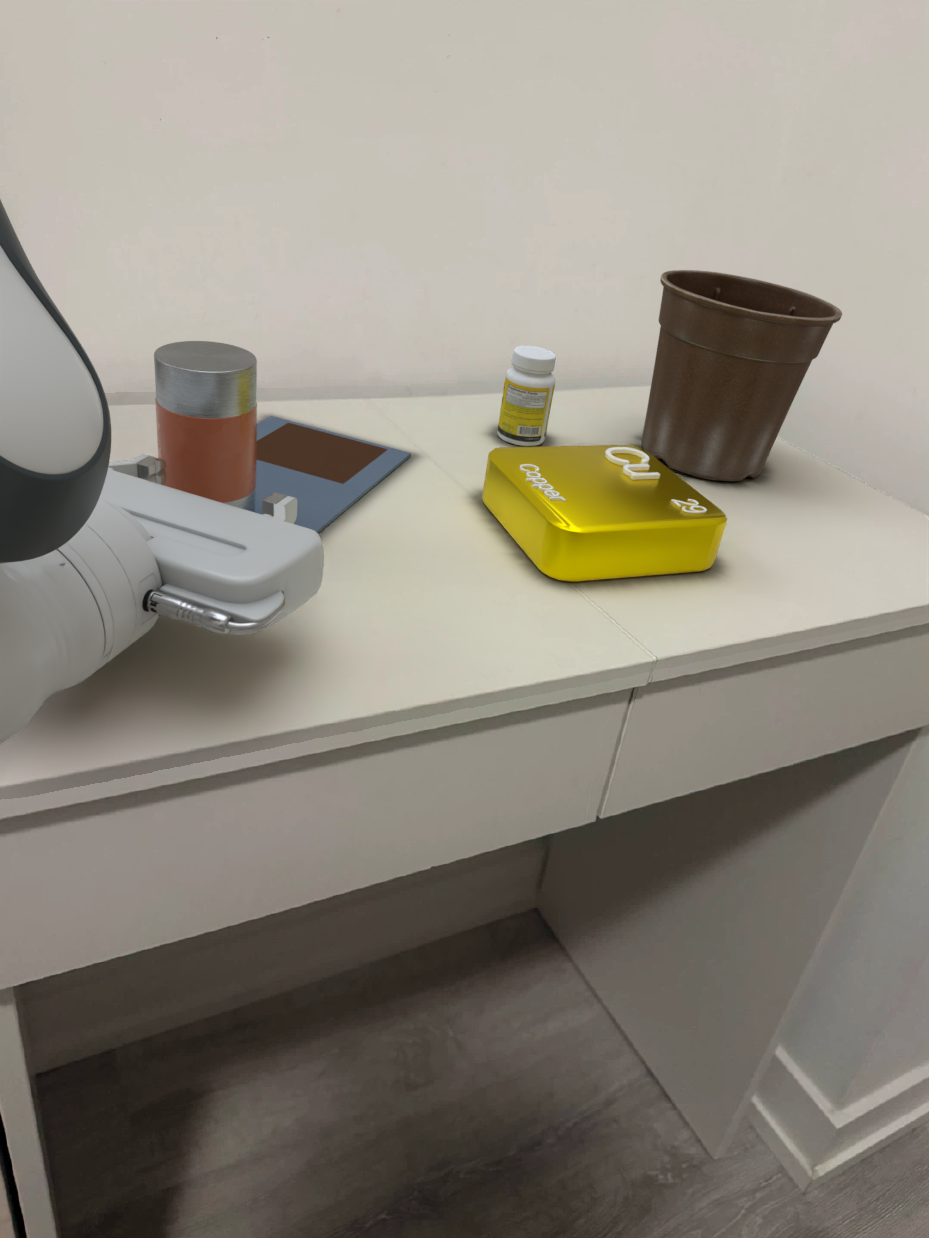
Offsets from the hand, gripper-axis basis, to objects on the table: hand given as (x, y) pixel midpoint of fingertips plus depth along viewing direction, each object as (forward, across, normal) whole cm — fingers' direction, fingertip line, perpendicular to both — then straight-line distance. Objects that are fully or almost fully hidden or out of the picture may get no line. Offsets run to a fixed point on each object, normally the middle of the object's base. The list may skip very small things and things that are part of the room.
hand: (220, 486), depth 58 cm
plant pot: (+44, -27, +6) cm, 52 cm away
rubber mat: (+13, +4, +6) cm, 14 cm away
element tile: (+21, -21, +6) cm, 30 cm away
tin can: (+5, +4, +6) cm, 8 cm away
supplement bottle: (+37, -10, +6) cm, 38 cm away
